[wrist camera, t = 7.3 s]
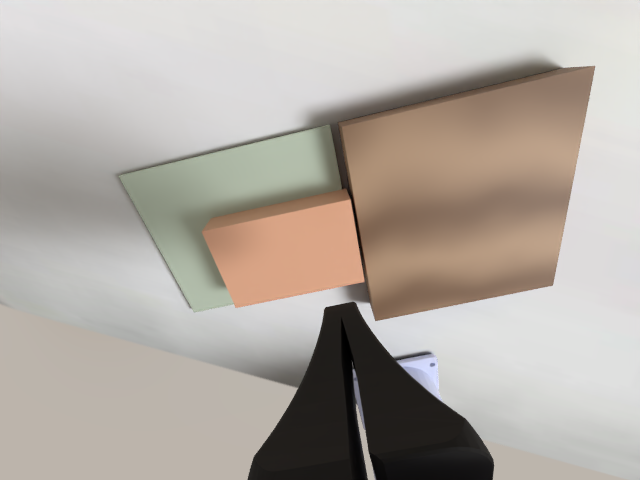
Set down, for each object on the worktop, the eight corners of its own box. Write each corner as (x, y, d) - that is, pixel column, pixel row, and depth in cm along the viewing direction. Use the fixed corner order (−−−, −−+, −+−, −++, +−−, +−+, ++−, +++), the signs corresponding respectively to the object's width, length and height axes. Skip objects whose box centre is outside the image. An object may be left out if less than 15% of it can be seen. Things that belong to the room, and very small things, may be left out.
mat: (358, 274, 22) (359, 277, 22) (195, 309, 23) (194, 312, 23) (329, 124, 17) (330, 125, 17) (122, 174, 18) (118, 176, 18)
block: (533, 270, 23) (552, 285, 21) (370, 303, 24) (375, 321, 22) (564, 67, 17) (595, 65, 15) (337, 122, 17) (341, 126, 16)
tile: (359, 265, 22) (364, 281, 20) (241, 289, 22) (235, 307, 20) (346, 188, 19) (350, 199, 17) (210, 218, 19) (201, 231, 18)
